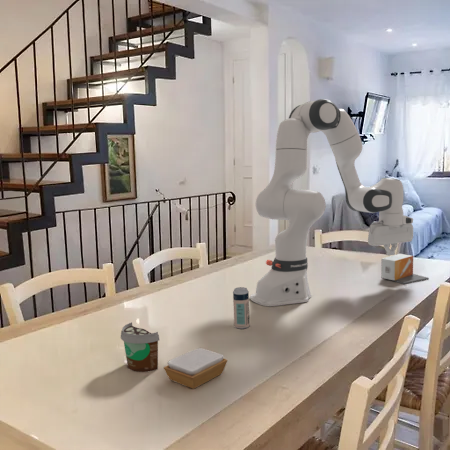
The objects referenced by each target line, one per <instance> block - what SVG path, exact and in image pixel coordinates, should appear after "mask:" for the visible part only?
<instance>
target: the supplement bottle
mask: <svg viewBox="0 0 450 450" xmlns="http://www.w3.org/2000/svg"><path fill="white" fill-rule="evenodd" d="M249 292H250V291H249V290H248V289H247V287H242V286H241V287H240V286H239V287H236V288H234V289H233V290H232V294H233V295H232V299H233V301H232V302H233V323H234V324H233V326H234V328H236V329H239V330H244V329H248V328H249V327H250V301H249V300H250V295H249Z"/></svg>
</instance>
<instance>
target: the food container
mask: <svg viewBox="0 0 450 450" xmlns="http://www.w3.org/2000/svg"><path fill="white" fill-rule="evenodd" d="M121 329H122V330H121V332H120V339H121V341H123V344H124V352H125V359H126V364H127V369H129V370H130V371H132V372H136V373H146V372H153V371H156V370H158V369H159V366H158V365H159V363H158V361H159V341H160V335H159V331H155V332H149V330H147V329H145V328H141V327H136V326H133V322H129V323H127V324H125V325H124V326H123V327H122V328H121Z"/></svg>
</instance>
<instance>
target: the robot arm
mask: <svg viewBox="0 0 450 450" xmlns="http://www.w3.org/2000/svg"><path fill="white" fill-rule="evenodd" d="M319 132H322V133H323V134H324V135H325V137H326V139H327V142H328V144H329V147H330V148H331V151H332V153H333V156H334V159H335V164H336V167H337V170H338V172H339V175H340V178H341V182H342V185H343V187H344V192H345V202H346V205H347V207H348V208H349V209H350V210H351V211H354V212H363V213H371V214H375V213H376V214H377V213H378V221H377V220H376V221H372V223H371V224H370V225H369V230H368V236H367V243H368V245H369V246H373V247H380V246H383V248H384V250H385V254H386V255H385V256H387V257H389V256H393V255H396V250H397V248H398V244H401V243H403V244H404V243H409V242H412V241H413V238H414V226H413V223H414V218H413V217H410V216H407V215H404V209H403V203H404V187H403V183H402V181H401V180H400V179H398V178H392V177H383V178H381V179H380V180H379V181H378V182H377V183H374V184H372V185H371V186H370V187H369V186H364V185H363V184H362V182H360V178H359V175H358V173H357V170H356V166H355V161H356V160H357V158H358V157H360V155H361V154H362V151H363V143H362V142H363V141H362V139H361V136H360V134H359V131H358V129H357V127H356V125H355V124H354V122H353V120H352V118H351V116H350V115H349V114H348V112H347V111H346V110H345V109H343V108H339V107H338V106H337V105H336V104H335V103H334V102H333V101H332V100H330V99H326V98H323V99H321V98H320V99H317V100H312V101H311V100H310V101H307V102H305V103H304V102H303V103H302V104H300V105H297V106H295V107H294V108H293V109H292V110H291V112H290V113H289V116H288V118H287V119H284V120H282V121H281V122H280V123H279V125H278V130H277V135H276V141H275V142H276V143H275V160H274V161H275V162H274V169H273V174H272V178H271V180H270V181H269V182H268V185H267V186H266V187H265V188H264V189H263V190H262V191H260V192H259V193H258V194H257V197H256V198H255V210H256V212H257V213H258V215H259V216H260V217H262V218H266V219H270V220H279V221H283V220H284V221H288V222H289V223H288V227H287V228H286V229H283V230H281V231H280V232H279V233H278V234H276V237H275V239H274V250H275V251H274V253H275V254H274V255H275V257H274V259H273V260H270V259H267V260H265V264H266V266H270V267H271V269H269V271H268V272H267V273H266V274H264V275H263V277H261V278H260V279H259V280H258V281H257V283H256V288H255V292H254V293H252V294H250V295H249V300H251V301H252V302H253V303H255V304H257V305H259V306H264V307H276V306H284V305H291V304H299V303H307V302H309V301H310V300H309V299H310V298H311V297H312V293H311V289H310V286H309V280H308V266H309V265H308V257H307V239H308V234H309V231H311V230H310V229H311V227H312V226H313V225H314V224H315V223H316V222H317V221H318V220H320V219H321V217H322V216H324V213H325V211H326V207H327V206H326V199H325V197H324V196H323V194H322V193H321V192H320V191H316V190H311V189H297V188H296V189H292V186H293V183H294V182H295V181H296V180H298V179H300V178H301V177H303V176H305V173H306V172H307V163H308V139H309V135H310V134H311V133H312V134H313V133H319Z"/></svg>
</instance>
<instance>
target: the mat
mask: <svg viewBox="0 0 450 450" xmlns="http://www.w3.org/2000/svg"><path fill="white" fill-rule="evenodd" d="M383 279H385V278H383ZM426 279H427V280H429V279H430V278H429V277H428V276H423V275H418V274H415V273H413V275H410V276H407V277H404V278H401V279H398V280H390V279H387V280H389V281H392V282H395V283H398V284H403V285H407V284H412V282H413V283H417V282H416V281H418V282H421V280H422V281H427V280H426ZM385 280H386V279H385Z"/></svg>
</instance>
